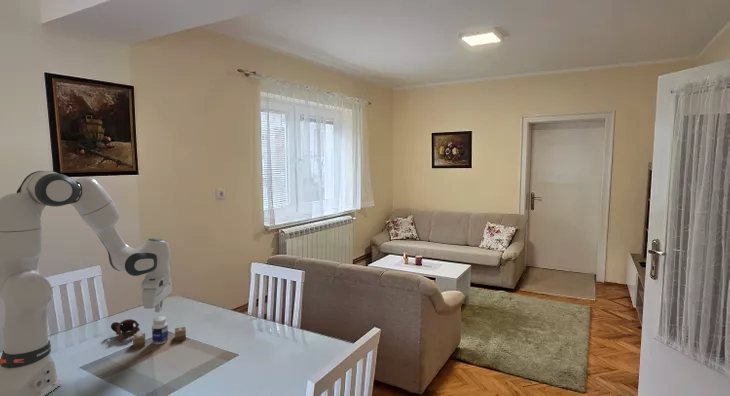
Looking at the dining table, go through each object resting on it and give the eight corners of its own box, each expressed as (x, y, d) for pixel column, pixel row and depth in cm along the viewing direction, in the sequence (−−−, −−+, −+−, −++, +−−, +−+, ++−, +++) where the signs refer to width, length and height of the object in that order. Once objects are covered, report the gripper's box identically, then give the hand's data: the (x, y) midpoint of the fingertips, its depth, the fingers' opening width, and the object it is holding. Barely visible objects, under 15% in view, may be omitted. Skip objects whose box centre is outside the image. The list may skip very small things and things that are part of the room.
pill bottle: (149, 343, 163) (148, 320, 162) (160, 337, 168) (159, 314, 167) (160, 345, 161) (159, 322, 160) (171, 339, 167) (170, 316, 166)
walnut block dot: (144, 346, 160) (144, 336, 160) (133, 348, 159) (132, 338, 158) (145, 342, 164) (145, 332, 163) (134, 344, 162) (133, 334, 162)
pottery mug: (144, 331, 175) (144, 319, 170) (132, 350, 167) (131, 337, 162) (116, 324, 174) (115, 312, 169) (103, 343, 166) (101, 330, 161)
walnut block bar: (185, 339, 167) (185, 329, 167) (175, 341, 166) (175, 331, 165) (185, 335, 171) (185, 326, 171) (175, 337, 169) (174, 327, 169)
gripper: (160, 270, 172) (160, 302, 173) (138, 285, 152) (139, 321, 153) (175, 270, 172) (176, 302, 174) (156, 285, 152) (156, 320, 154)
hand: (158, 311), depth 163 cm, fingers closed
